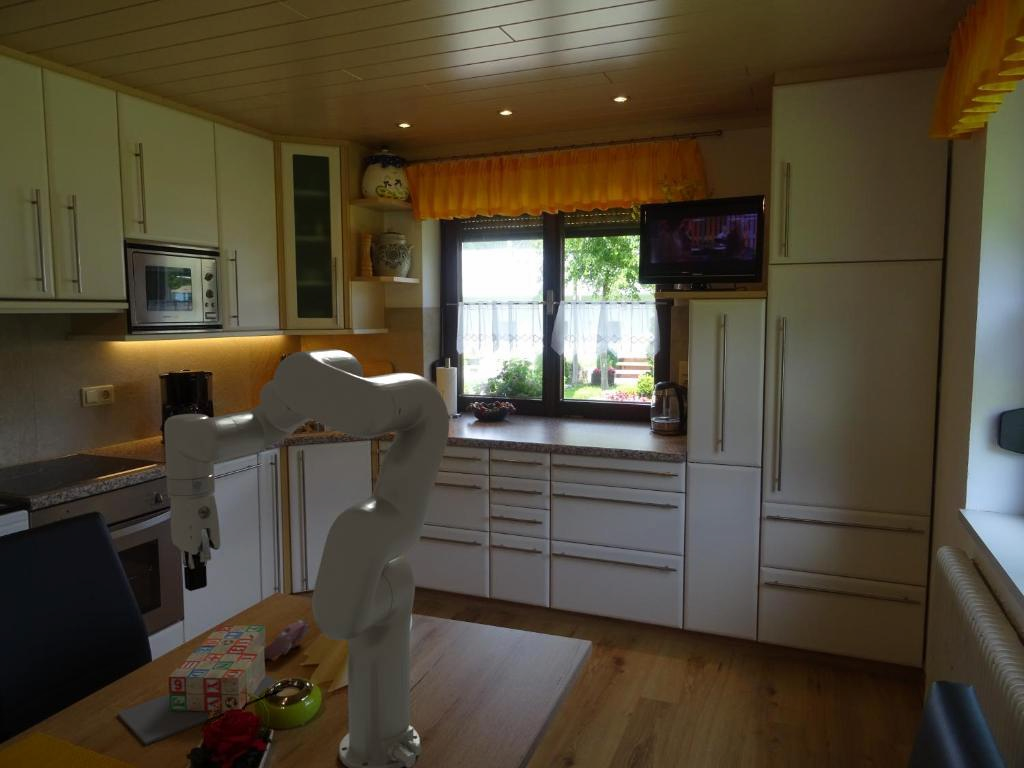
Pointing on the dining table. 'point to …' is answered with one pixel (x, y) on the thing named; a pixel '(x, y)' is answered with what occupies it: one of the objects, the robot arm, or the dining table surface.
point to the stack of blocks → (220, 671)
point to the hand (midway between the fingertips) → (196, 587)
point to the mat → (168, 716)
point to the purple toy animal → (286, 639)
